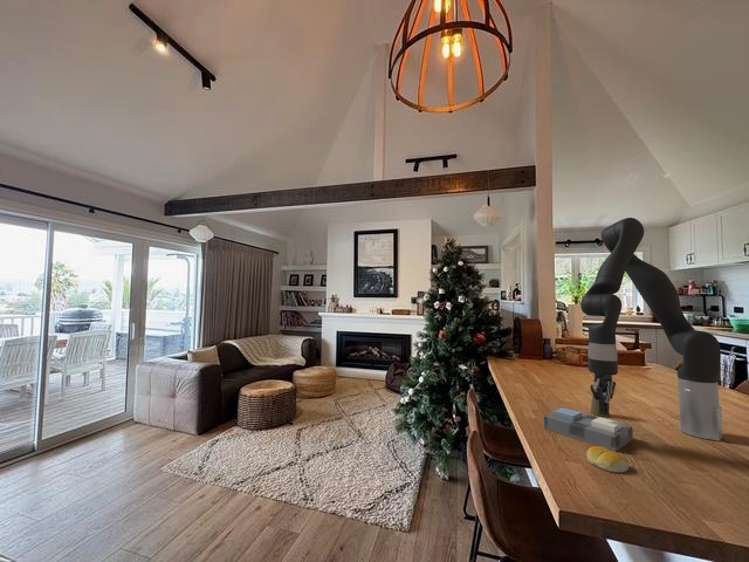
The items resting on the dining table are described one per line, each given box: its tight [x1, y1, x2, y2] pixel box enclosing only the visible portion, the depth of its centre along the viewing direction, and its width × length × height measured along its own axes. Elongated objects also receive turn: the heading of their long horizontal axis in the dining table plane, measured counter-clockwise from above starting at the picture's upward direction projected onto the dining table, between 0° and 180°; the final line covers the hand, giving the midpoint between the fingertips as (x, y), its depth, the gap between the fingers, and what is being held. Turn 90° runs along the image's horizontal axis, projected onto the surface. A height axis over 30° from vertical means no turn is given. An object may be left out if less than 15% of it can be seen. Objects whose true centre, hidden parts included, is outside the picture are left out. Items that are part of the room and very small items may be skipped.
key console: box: [543, 412, 634, 452], centre depth 103 cm, size 20×14×4 cm
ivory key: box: [591, 416, 623, 433], centre depth 99 cm, size 6×6×2 cm
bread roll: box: [586, 445, 630, 474], centre depth 84 cm, size 8×9×4 cm
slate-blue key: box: [553, 407, 582, 421], centre depth 108 cm, size 6×6×2 cm
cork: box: [590, 394, 611, 418], centre depth 121 cm, size 6×6×11 cm
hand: (604, 413), depth 99 cm, fingers closed
